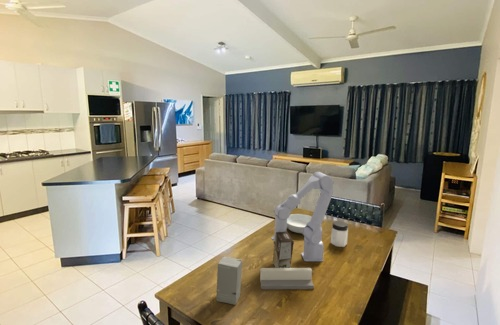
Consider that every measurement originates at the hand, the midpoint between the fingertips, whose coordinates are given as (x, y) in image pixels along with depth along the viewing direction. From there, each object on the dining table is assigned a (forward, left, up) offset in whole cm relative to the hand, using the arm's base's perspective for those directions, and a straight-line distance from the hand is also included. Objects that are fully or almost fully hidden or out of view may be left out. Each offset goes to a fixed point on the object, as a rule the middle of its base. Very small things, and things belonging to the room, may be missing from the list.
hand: (278, 255), depth 133 cm
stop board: (-1, +18, -3) cm, 19 cm away
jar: (-37, -19, -3) cm, 41 cm away
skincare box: (+23, +26, -3) cm, 35 cm away
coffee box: (0, +5, -3) cm, 6 cm away
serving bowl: (-19, -37, -3) cm, 41 cm away
